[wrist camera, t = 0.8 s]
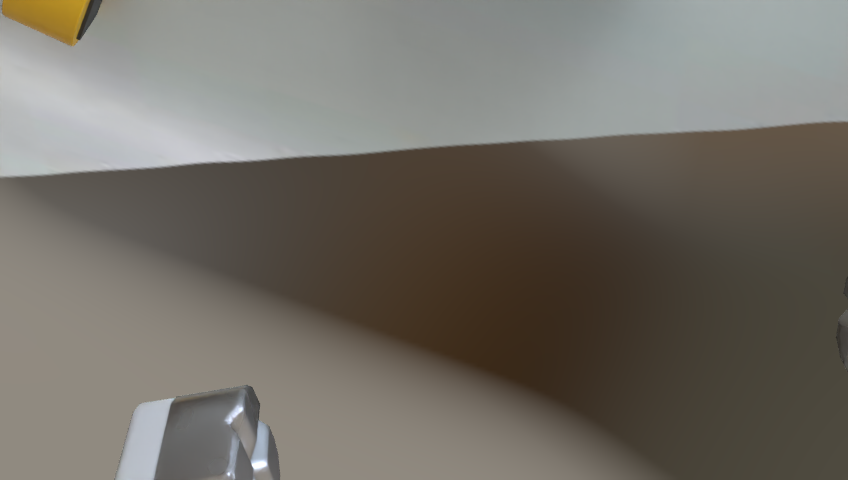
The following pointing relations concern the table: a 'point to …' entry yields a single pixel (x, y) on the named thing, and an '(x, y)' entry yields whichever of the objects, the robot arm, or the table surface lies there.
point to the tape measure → (54, 16)
